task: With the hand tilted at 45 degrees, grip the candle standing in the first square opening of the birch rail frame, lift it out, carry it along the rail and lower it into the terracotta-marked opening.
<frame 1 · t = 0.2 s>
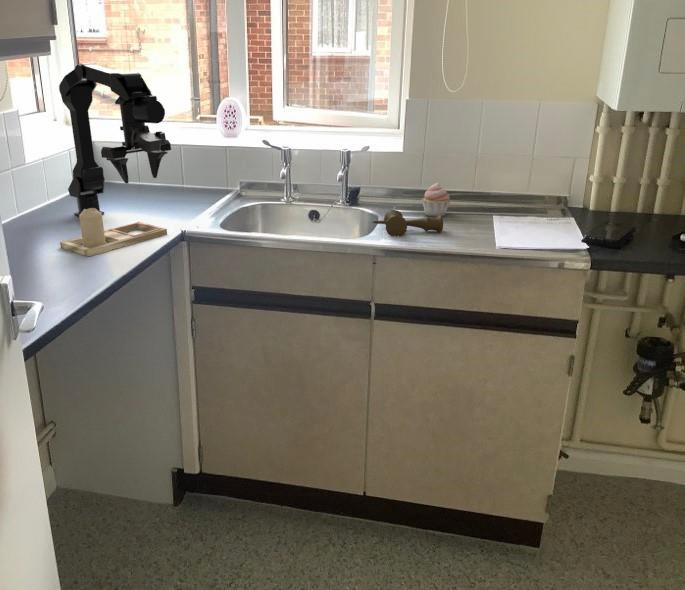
hand: (141, 180, 183), 14 cm above the worktop, tool pointing down, fingers open, 9 cm apart
kendama: (407, 233, 190), on the worktop
rail frame: (115, 240, 179), on the worktop
cupcake: (435, 215, 208), on the worktop
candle: (94, 247, 174), resting in rail frame
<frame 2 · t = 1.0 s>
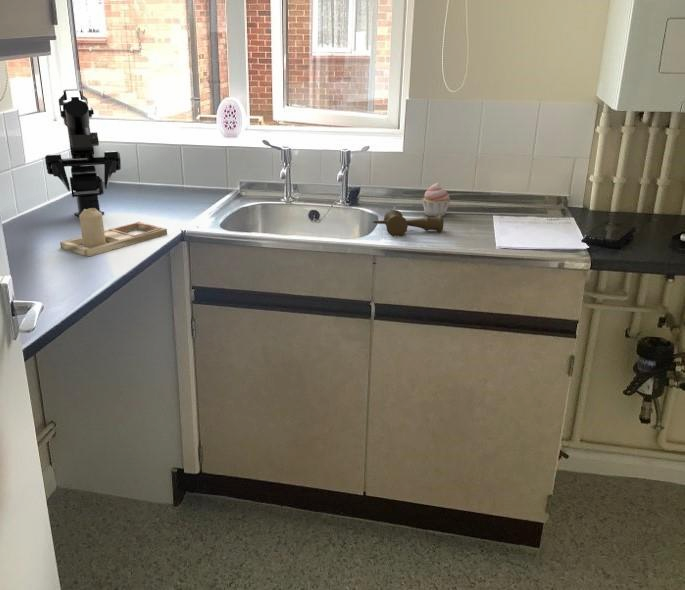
hand: (87, 189, 177), 13 cm above the worktop, tool tilted 45°, fingers open, 9 cm apart
nothing on the worktop moved.
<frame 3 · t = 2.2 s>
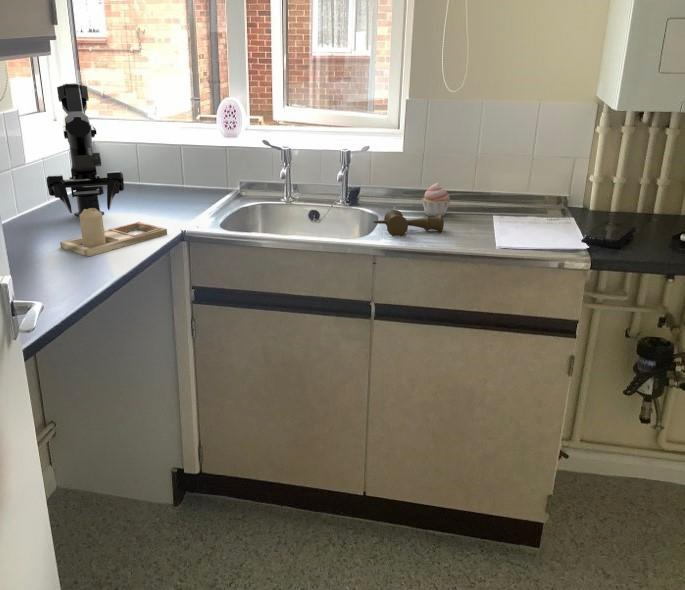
hand: (90, 210, 172), 9 cm above the worktop, tool tilted 45°, fingers open, 9 cm apart
nothing on the worktop moved.
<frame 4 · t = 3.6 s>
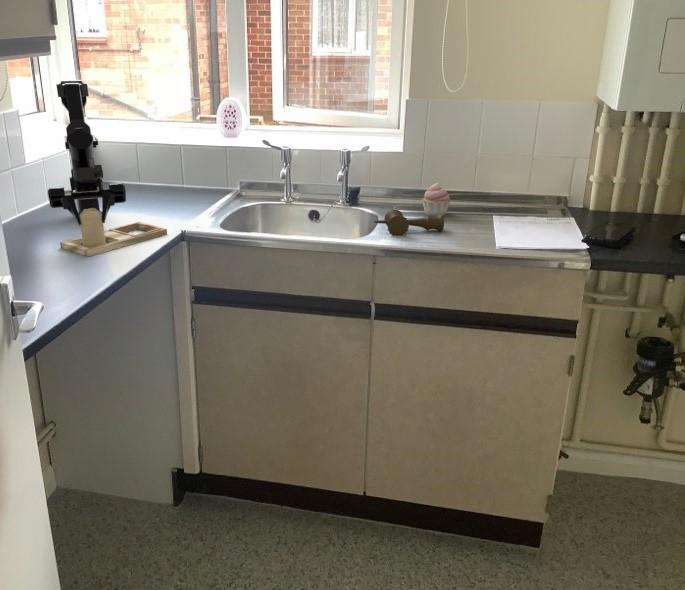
hand: (91, 223, 171), 7 cm above the worktop, tool tilted 45°, fingers closed on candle, 5 cm apart
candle: (94, 247, 174), resting in rail frame, touching gripper
everything else where it was.
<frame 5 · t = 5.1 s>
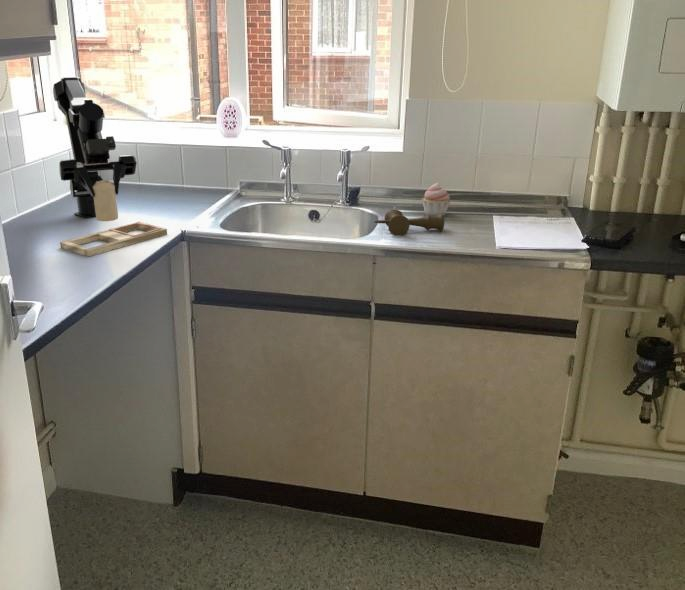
hand: (105, 195, 172), 13 cm above the worktop, tool tilted 45°, fingers closed on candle, 5 cm apart
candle: (107, 219, 175), point 6 cm above the worktop, touching gripper
when the fingers open (8 cm above the worktop, at t = 7.2 s): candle drops 1 cm, resting in rail frame.
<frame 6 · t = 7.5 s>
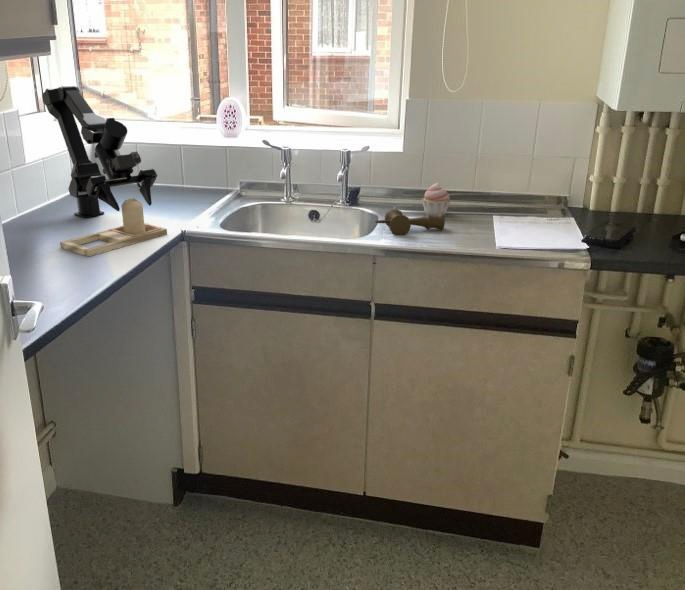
hand: (134, 207, 180), 8 cm above the worktop, tool tilted 45°, fingers open, 9 cm apart
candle: (135, 235, 184), resting in rail frame
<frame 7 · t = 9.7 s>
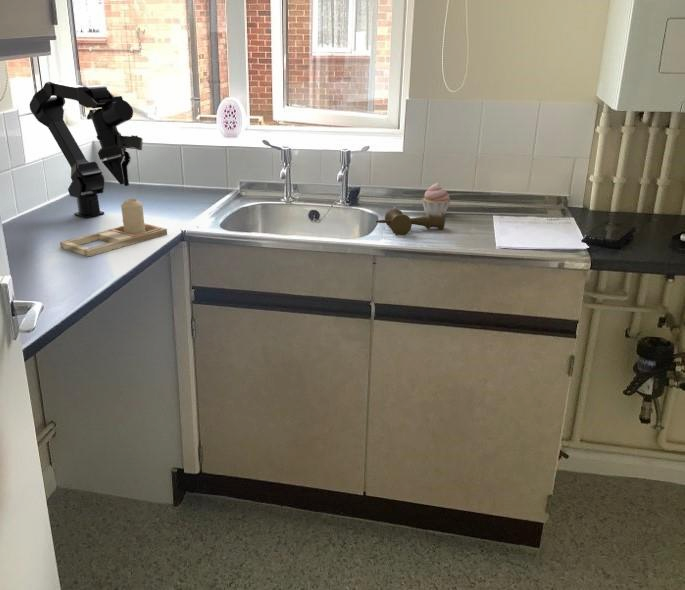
hand: (124, 184, 190), 12 cm above the worktop, tool tilted 20°, fingers open, 9 cm apart
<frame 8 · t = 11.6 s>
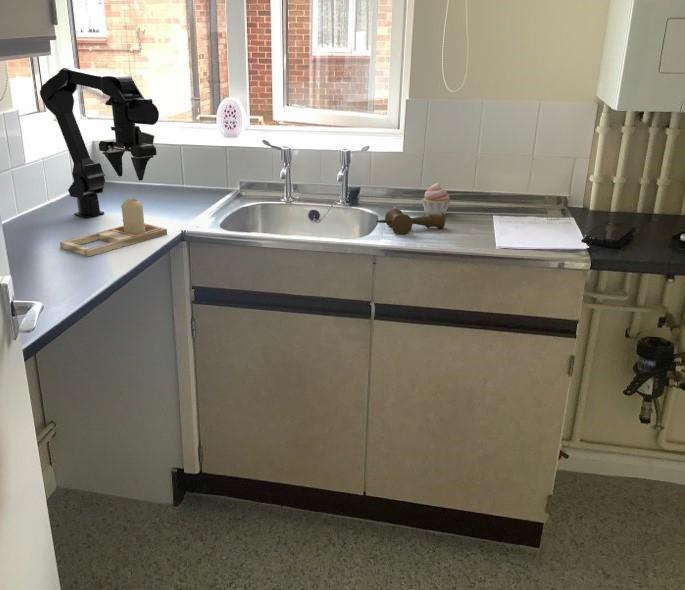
hand: (130, 178, 192), 13 cm above the worktop, tool pointing down, fingers open, 9 cm apart
at the end: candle inside the target area on the rail frame (0.2 cm from its centre), point 0.0 cm above the rail frame's base; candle tilted 0°; the gripper is holding nothing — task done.
